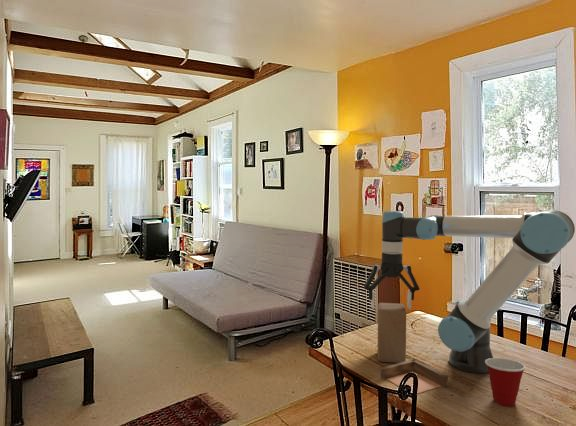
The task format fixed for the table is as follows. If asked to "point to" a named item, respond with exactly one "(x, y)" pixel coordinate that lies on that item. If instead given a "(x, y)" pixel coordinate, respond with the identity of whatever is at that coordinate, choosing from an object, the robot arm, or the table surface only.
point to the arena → (416, 367)
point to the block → (391, 332)
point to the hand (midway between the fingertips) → (390, 308)
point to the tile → (423, 382)
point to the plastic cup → (505, 379)
